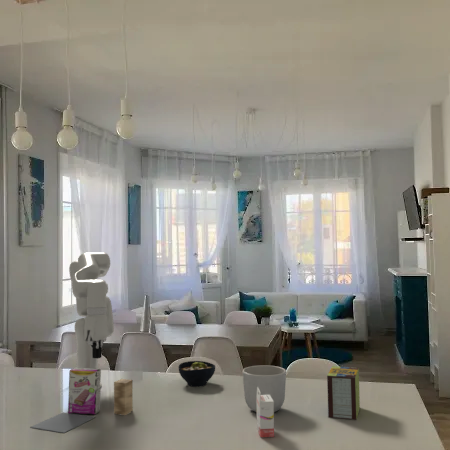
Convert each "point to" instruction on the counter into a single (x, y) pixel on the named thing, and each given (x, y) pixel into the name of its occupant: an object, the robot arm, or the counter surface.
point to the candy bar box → (84, 391)
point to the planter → (264, 384)
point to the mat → (62, 422)
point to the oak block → (123, 397)
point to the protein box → (343, 392)
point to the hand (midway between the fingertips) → (97, 357)
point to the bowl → (196, 372)
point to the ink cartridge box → (265, 415)
